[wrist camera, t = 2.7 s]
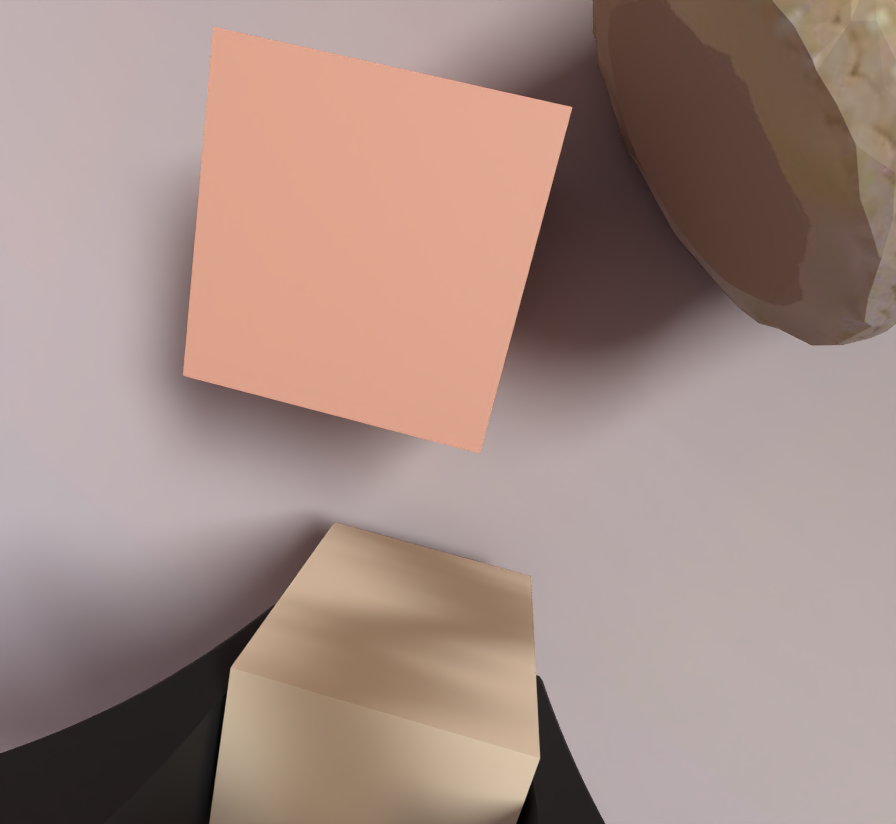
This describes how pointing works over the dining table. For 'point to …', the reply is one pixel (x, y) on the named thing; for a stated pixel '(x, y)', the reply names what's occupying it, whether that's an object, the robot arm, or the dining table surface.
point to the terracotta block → (364, 235)
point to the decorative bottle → (768, 148)
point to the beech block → (384, 693)
